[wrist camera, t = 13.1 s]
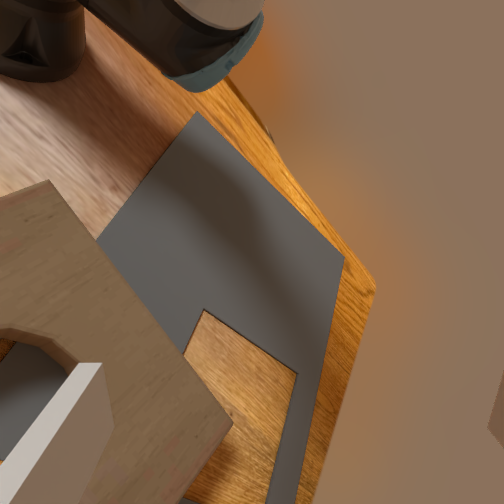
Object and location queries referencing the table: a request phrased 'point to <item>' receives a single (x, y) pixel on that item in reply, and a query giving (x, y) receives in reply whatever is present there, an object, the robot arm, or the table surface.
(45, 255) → the decorative block
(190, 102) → the table surface
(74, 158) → the table surface
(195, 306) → the mat
